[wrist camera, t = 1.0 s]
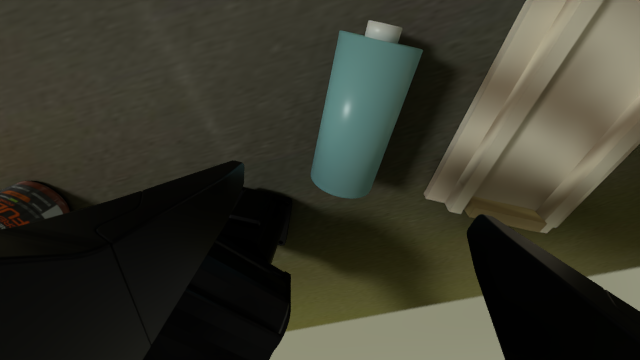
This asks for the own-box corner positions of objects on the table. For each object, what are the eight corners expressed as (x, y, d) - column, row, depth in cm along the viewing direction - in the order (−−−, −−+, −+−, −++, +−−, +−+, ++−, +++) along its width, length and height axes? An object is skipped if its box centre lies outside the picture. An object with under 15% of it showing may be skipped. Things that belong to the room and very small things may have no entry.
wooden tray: (550, 222, 23) (571, 242, 20) (423, 193, 22) (431, 211, 20) (787, -27, 13) (876, -38, 11) (568, -80, 13) (612, -102, 11)
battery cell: (368, 170, 22) (374, 204, 18) (314, 158, 22) (306, 190, 18) (416, 32, 16) (441, 35, 12) (343, 15, 16) (342, 12, 12)
